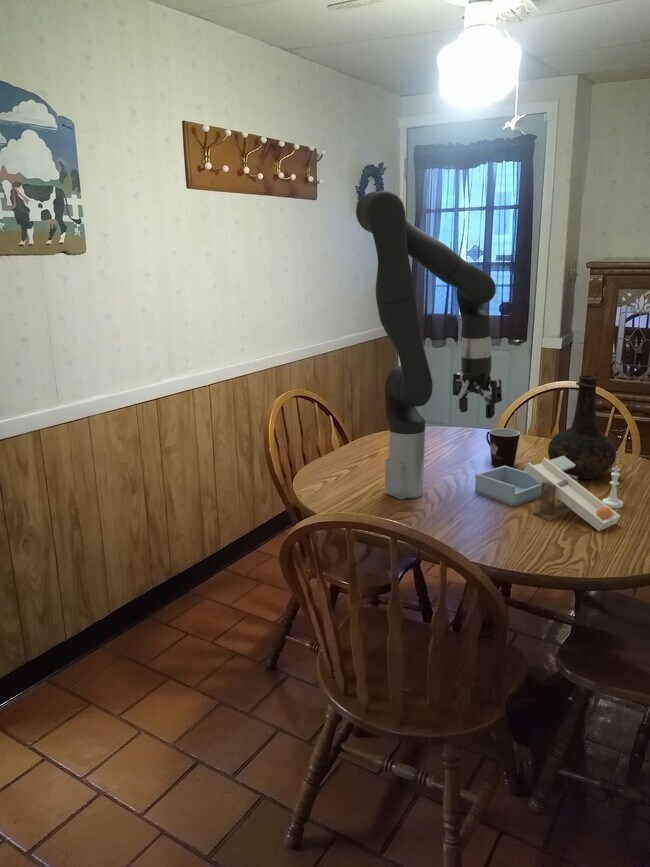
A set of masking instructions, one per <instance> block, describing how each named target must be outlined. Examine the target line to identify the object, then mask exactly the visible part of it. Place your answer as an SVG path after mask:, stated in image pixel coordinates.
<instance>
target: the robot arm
mask: <svg viewBox="0 0 650 867" xmlns="http://www.w3.org/2000/svg"><path fill="white" fill-rule="evenodd" d="M355 215H356V218H357V219H356V220H357V222H358V224H359V225H360V227H361V228H362V229H364V230H365V232H366V231H367V232H369V233H371V234H372V237H373V241H374V246H375V250H376V251H375V252H376V256H377V272H376V281H375V301H376V305H377V307H376V308H377V311H378V316H379V320H380V323H381V325H382V326H381V327H382V328H383V329H384V331H385V333H386V335H387V336H388V339H389V340H390V341H391V343H392V345H393V346H394V348H395V350H396V352H397V353H396V354H397V355H398V358H399V362H400V365H398V366H395V367H393V368H392V369H391V370H390V371H389V372H388V373H387V376H386V379H385V382H384V404H385V405H384V406H385V407H384V408H385V411H384V412H385V418H386V421H387V423H388V450H387V451H388V453H387V455H388V457H387V458H385V460H384V462H385V464H384V465H385V467H384V469H385V470H384V471H385V473H384V493H385V494H386V495H388V494H389V495H388V496H391V497H393V496H394V498H396V499H398V500H406V498H408V499H409V498H411V499H416V498H420V497H421V496H423V495H424V487H425V486H424V484H425V483H424V481H425V479H424V478H425V448H426V447H425V442H426V440H425V439H426V438H425V437H426V421H425V419H424V417H423V416H422V415H421V414H420V413H419V412H418V410H417V408H418V407H423V406H425V405H426V404H427V403H428V402H430V400H431V398H432V394H433V387H434V386H433V378H432V373H431V370H430V367H429V363H428V359H427V355H426V351H425V347H424V343H423V342H424V341H423V335H422V331H421V326H420V319H419V313H418V312H419V311H418V310H419V309H418V304H417V297H416V292H415V291H416V290H415V287H414V282H413V274H412V268H411V263H410V258H412V259H414V260H415V261H416V262H417V263H418V264H420V265H421V266H423V267H424V268H425V270H426V269H427V271H429V272H430V273H431V274H432V275H433V276H435V277H436V278H438V279H439V280H440V281H442V282H444V283H445V284H447V285H449V286H453V287H455V288H456V292H455V293H456V295H455V296H456V301H457V305H458V306H457V307H458V310H459V314H460V317H461V343H460V345H461V346H460V356H461V357H460V360H461V362H460V364H461V366H460V367H461V371H459V372H455V373H453V374H452V395H453V396H455V397H456V396H457V398H458V408H459V412H460V413H466V412H468V409H469V408H468V407H469V406H468V404H469V403H468V402H469V400H468V395H470V394H471V393H475V394H476V395H477V394H478V395H480V397H481V398H482V399H483V400H484V401H485V403H486V404H485V419H488V420H489V419H492V418H494V416H495V414H496V407H495V406H496V404H498V403H501V402H502V401H503V394H502V380H501V379H500V378H496V379H494V378H491V372H492V339H491V317H490V314H489V313H488V312H486V311H485V309H484V304H487V303H489V302H491V301H492V300H493V299H494V297H495V296H496V292H497V287H496V283H495V280H494V279H493V278H492V277H491V275H489V274H487V272H485V271H483V270H482V269H480V268H478V267H477V266H475V265H474V264H471V263H469V262H468V261H466V260H464V258H462V256H460V255H459V254H458V253H456V252H455V251H454V250H453V249H452V248H451V247H449V246H447V244H445V243H443V242H442V241H440V240H438V239H437V238H435V237H434V236H432V235H430V234H429V233H426V232H425V231H423V230H421V229H420V228H418V227H416V226H415V225H414V224H413V223H411V222H410V221H408V219H407V218H406V210H405V205H404V202H403V201H402V199H401V197H400V196H399V195H397V194H396V193H394V192H393V191H390V190H379V191H378V190H377V191H372V192H368V193H366V194H364V195H363V196H362V197H361V198H360V199H359V201H358V203H357V205H356V208H355ZM409 257H410V258H409ZM463 383H464V384H463ZM416 407H417V408H416Z"/></svg>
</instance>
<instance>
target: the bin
mask: <svg viewBox="0 0 650 867" xmlns="http://www.w3.org/2000/svg"><path fill="white" fill-rule="evenodd" d="M541 486H542V485H541V484H540V483H539V482H537V481H536V480H535V479H534V478H532V477H531V476H530V475H529V474H527V473H526V472H525V471H524V470H521V469H517V468H514V467H512V468H511V467H508V466H501V467H498V468H497V467H494V468H492V469H489V470H485V471H482V472H479V473H476V474H475V484H474V493H475V494H478V495H481V496H484V497H485V498H489V499H491V500H492V499H493V500H494V501H498V502H501V503H504V504H507V505H509V506H512V507H517V506H520V505H523V504H525V503H527V502H531V501H533V500H535V499H538V498H541Z"/></svg>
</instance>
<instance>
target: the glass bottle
mask: <svg viewBox="0 0 650 867" xmlns="http://www.w3.org/2000/svg"><path fill="white" fill-rule="evenodd" d="M578 380H579V381H577V382H575V384H576V386H578V391H577V399H576V405H575V411H574V417H573V420H572V423H571V427H570V428H567V429H566V430H563V431H561V432H558V433H556V435H554V436H553V437H552V438H551V439H550V442H549V444H548V448H547V453H548V457H549V459H548V460H552V459H555V458H558V457H561V456H565V457H566V458H567V459H569V460H570V461H571V462H573V463H574V464H575V467H574V468H571V469H568V470H565V471H563V472H564V473H566V474H570V475H574V476H577V477H578V480H579V479H580V480H590V479H596V478H598V477H599V478H600V477H601V476H603V475H605V474H607V472H609V471H610V470H611V469H612V468H613V466H614V464H615V462H616V458H617V449H616V445H615V444H614V442H613V441H612V439H611V438H609V437H608V436H607V435H606V434H604V433H602V432H601V430H600V429H599V425H598V421H597V419H598V418H597V411H596V408H597V403H596V402H597V400H596V399H597V396H596V393H597V387H598V386H599V385H598V384H597V380H598V378H597V376H594V375H588V374H587V375H586V374H585V375H580V376H579V377H578Z"/></svg>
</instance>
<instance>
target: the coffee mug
mask: <svg viewBox="0 0 650 867" xmlns="http://www.w3.org/2000/svg"><path fill="white" fill-rule="evenodd" d="M520 435H521V432H520V431H519V430H516V429H512V428H501V427H500V428H493V429H489V431H487V432H486V436H485V437H486V441H487V444H488V446H489V447H490V462H491V464H490V465H491V466H492V467H494V468H498V467H501V466H508V467H511V468H514V467H515V461H516V458H517V457H516V456H517V452H518V446H519V440H520Z"/></svg>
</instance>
